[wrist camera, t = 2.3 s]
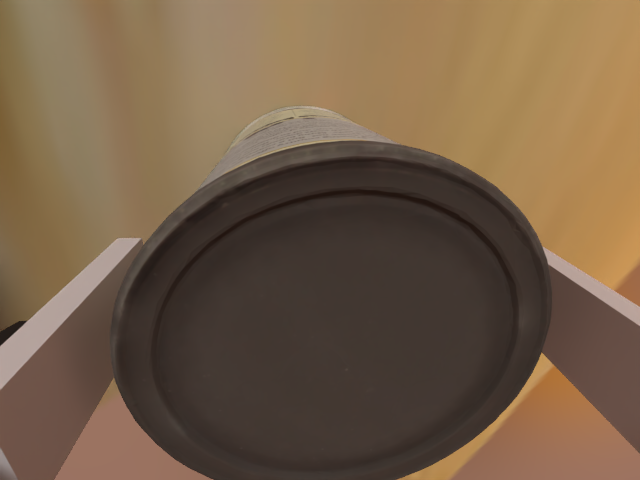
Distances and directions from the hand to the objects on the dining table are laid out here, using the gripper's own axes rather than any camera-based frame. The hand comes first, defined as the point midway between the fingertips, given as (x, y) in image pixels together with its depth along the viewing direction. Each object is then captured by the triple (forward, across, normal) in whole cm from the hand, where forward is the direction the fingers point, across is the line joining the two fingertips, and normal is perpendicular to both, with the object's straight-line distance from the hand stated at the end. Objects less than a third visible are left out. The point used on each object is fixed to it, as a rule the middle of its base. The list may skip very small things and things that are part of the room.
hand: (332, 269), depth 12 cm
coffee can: (+9, -1, 0) cm, 9 cm away
